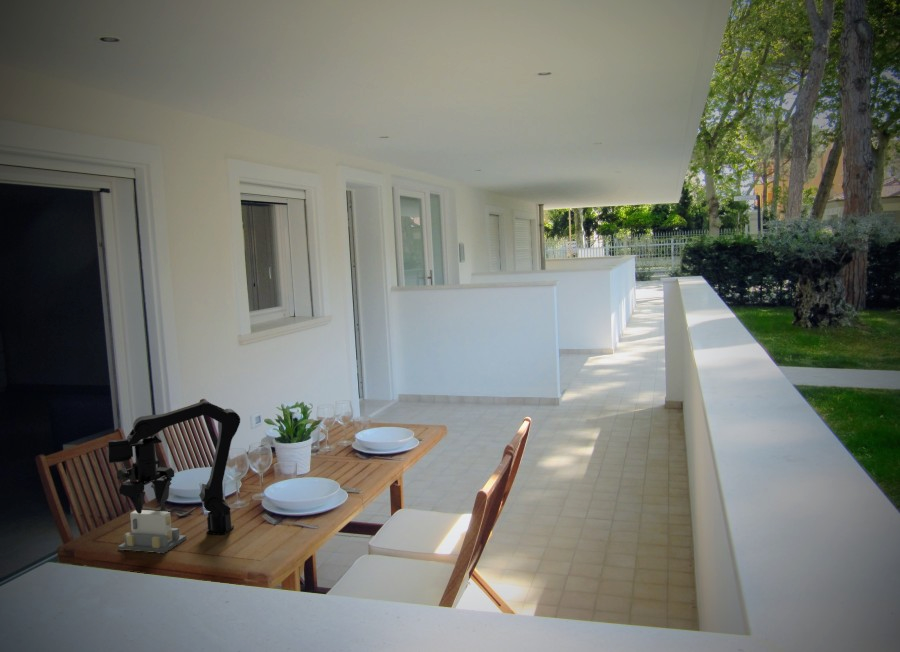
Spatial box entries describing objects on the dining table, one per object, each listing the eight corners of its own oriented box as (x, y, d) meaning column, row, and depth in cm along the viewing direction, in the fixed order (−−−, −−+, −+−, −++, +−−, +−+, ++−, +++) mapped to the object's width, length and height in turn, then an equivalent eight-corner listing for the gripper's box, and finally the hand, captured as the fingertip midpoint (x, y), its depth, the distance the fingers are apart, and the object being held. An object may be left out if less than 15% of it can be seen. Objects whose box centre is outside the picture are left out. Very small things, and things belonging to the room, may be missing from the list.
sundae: (166, 516, 240) (163, 473, 238) (149, 515, 241) (145, 473, 240) (177, 509, 246) (174, 467, 245) (160, 508, 248) (157, 467, 246)
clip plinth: (186, 539, 219) (185, 526, 218) (163, 553, 208) (162, 540, 208) (142, 535, 223) (141, 523, 222) (118, 550, 212) (117, 536, 212)
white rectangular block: (174, 540, 215) (172, 511, 214) (166, 545, 212) (164, 516, 211) (138, 537, 218) (136, 509, 218) (130, 542, 215) (128, 514, 214)
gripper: (143, 449, 224) (146, 496, 225) (101, 466, 206) (105, 517, 207) (173, 450, 221) (177, 498, 223) (133, 467, 203) (137, 519, 205)
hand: (149, 507), depth 214 cm, fingers open, 9 cm apart
